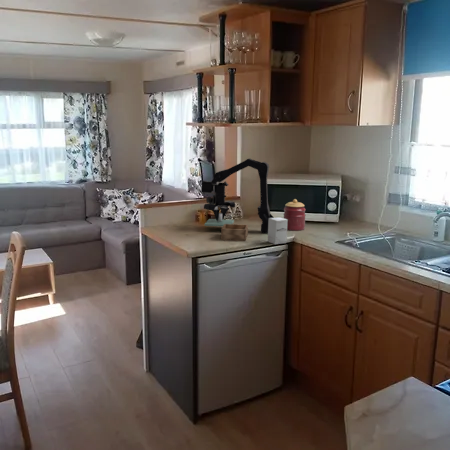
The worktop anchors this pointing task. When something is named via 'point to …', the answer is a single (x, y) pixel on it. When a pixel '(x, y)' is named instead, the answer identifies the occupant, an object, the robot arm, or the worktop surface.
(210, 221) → the lid
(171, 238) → the worktop surface
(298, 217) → the canister
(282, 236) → the supplement box
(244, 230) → the box
